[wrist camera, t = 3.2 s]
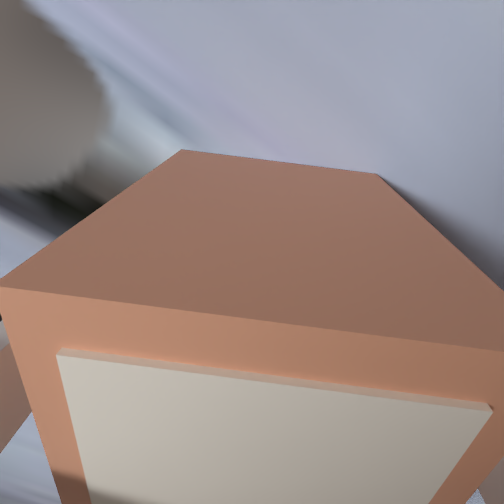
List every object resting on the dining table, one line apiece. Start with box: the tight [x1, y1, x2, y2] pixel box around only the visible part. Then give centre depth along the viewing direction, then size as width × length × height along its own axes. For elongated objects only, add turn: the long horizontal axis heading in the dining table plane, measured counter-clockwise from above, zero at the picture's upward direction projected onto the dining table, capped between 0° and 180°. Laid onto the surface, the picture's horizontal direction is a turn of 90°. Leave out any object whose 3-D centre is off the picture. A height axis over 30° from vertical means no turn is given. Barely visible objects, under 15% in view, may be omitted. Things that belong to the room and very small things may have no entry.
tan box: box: [0, 149, 504, 504], centre depth 11 cm, size 10×8×10 cm
